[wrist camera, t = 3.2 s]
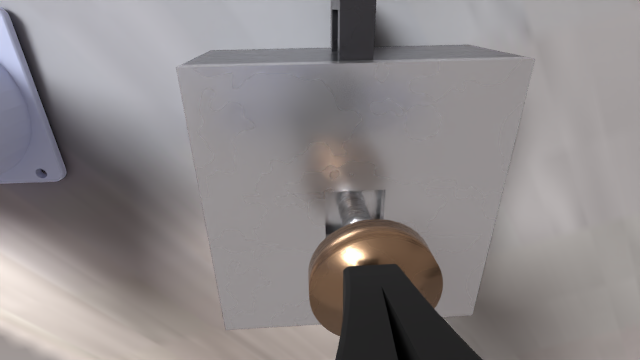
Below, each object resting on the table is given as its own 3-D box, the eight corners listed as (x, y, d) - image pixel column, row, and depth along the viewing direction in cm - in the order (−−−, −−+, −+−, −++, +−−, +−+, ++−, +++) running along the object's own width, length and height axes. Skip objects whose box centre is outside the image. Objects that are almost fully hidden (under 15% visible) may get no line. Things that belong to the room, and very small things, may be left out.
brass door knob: (252, 286, 17) (233, 404, 12) (226, 93, 13) (181, 148, 8) (440, 276, 18) (499, 386, 13) (474, 86, 14) (583, 134, 8)
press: (240, 260, 21) (225, 330, 17) (202, -10, 15) (160, -18, 10) (435, 250, 22) (472, 315, 17) (478, -14, 15) (555, -23, 11)
